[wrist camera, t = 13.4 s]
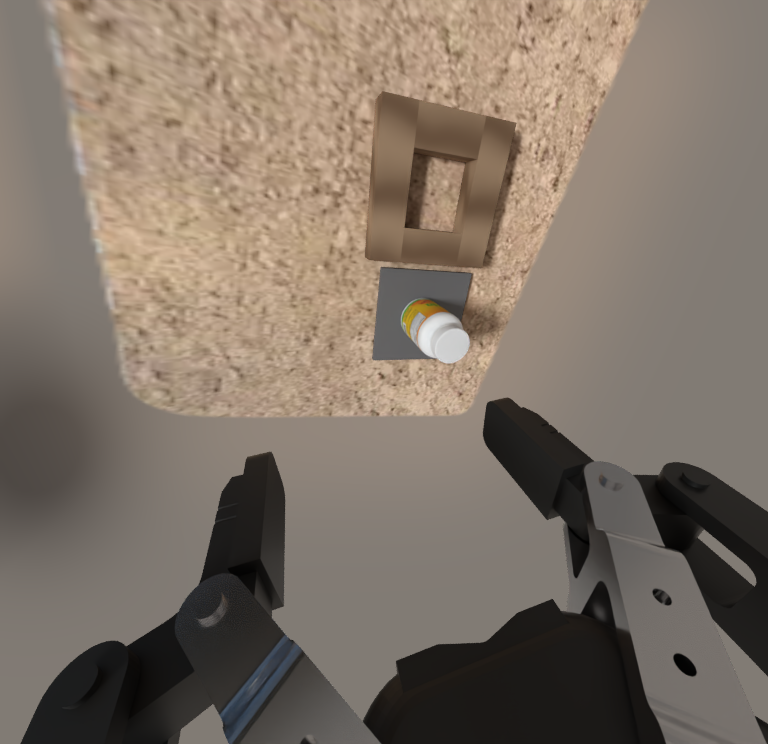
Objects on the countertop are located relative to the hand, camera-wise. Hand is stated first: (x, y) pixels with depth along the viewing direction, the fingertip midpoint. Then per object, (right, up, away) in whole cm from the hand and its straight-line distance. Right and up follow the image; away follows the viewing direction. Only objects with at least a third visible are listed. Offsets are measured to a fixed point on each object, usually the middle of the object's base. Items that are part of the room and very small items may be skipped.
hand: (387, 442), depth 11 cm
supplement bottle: (+4, +10, +29) cm, 31 cm away
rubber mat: (+5, +10, +29) cm, 31 cm away
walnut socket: (+5, +22, +22) cm, 32 cm away
